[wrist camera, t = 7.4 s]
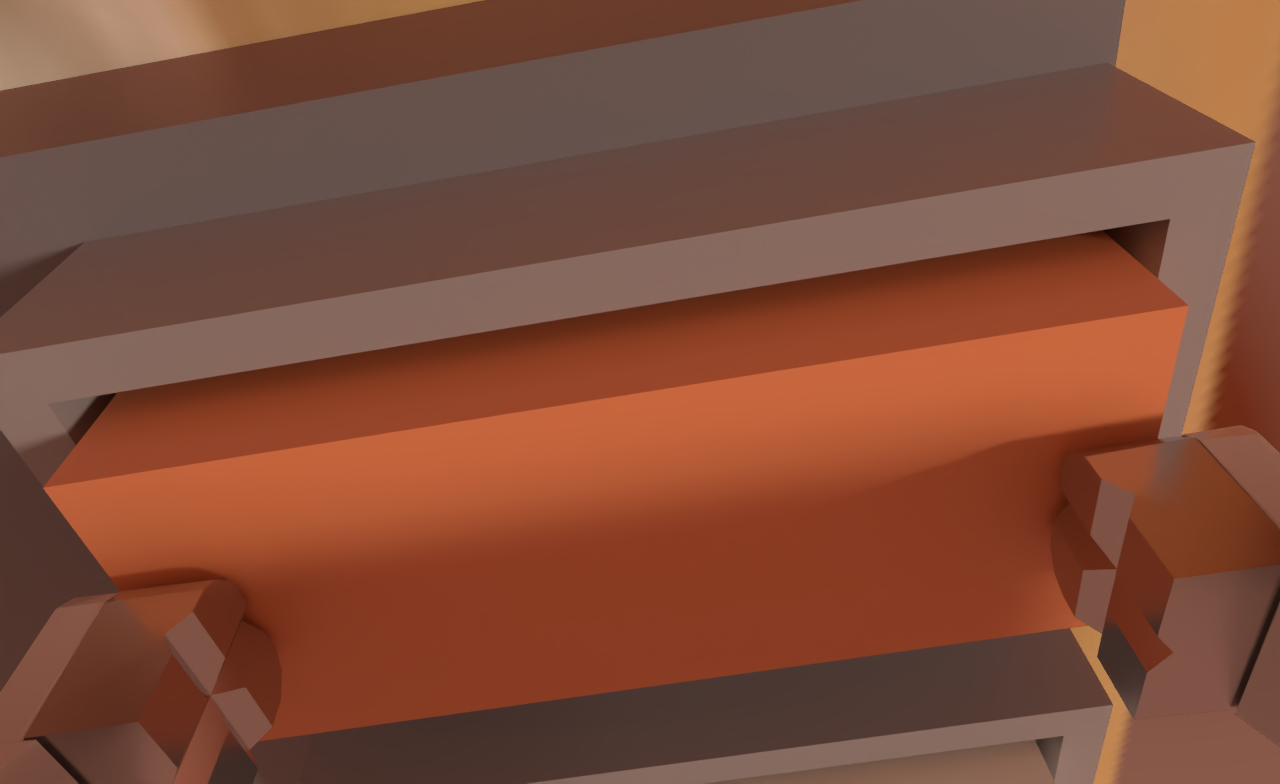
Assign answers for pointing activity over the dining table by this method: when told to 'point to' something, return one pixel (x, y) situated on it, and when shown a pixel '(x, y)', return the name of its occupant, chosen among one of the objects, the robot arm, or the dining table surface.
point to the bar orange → (642, 482)
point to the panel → (580, 282)
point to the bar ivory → (930, 769)
